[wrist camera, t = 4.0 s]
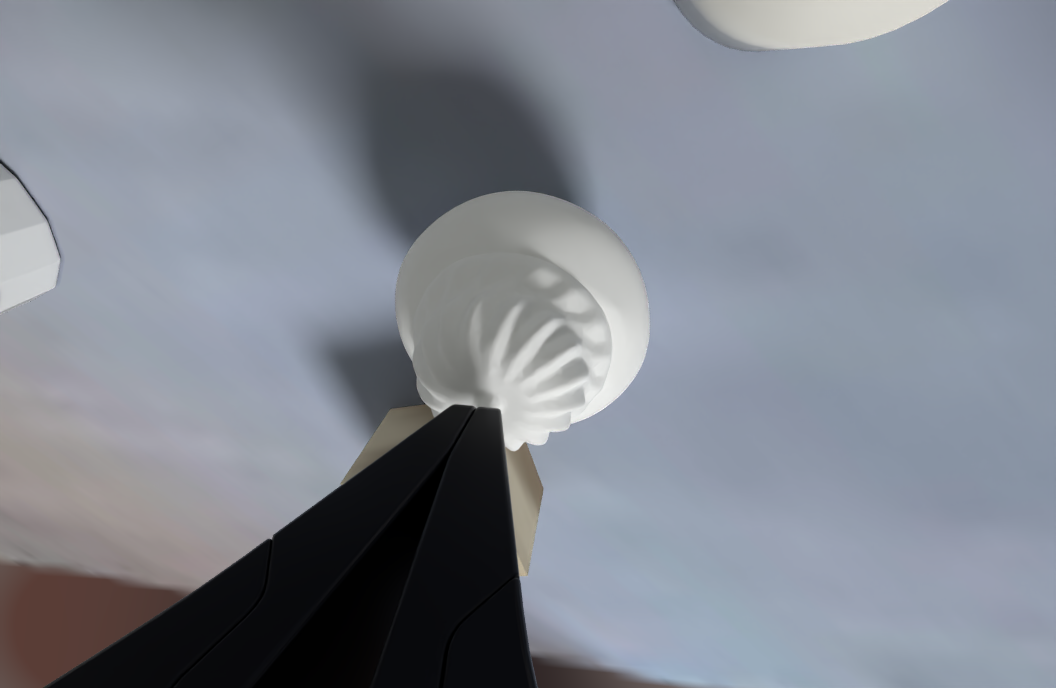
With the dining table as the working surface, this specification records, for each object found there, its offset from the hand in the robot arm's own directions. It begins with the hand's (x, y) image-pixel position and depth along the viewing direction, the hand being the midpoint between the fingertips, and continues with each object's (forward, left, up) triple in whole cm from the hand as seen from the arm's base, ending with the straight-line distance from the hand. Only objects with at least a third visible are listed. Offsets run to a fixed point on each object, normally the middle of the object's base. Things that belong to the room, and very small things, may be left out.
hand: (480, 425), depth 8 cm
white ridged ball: (0, 0, -8) cm, 8 cm away
